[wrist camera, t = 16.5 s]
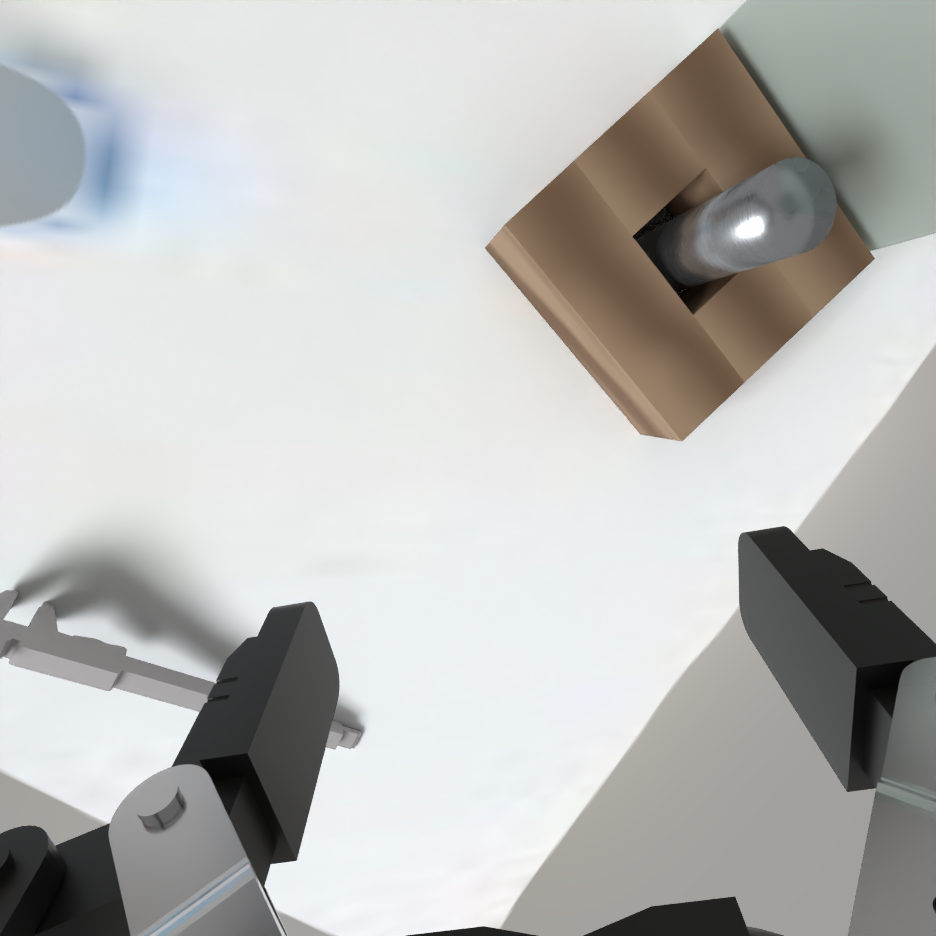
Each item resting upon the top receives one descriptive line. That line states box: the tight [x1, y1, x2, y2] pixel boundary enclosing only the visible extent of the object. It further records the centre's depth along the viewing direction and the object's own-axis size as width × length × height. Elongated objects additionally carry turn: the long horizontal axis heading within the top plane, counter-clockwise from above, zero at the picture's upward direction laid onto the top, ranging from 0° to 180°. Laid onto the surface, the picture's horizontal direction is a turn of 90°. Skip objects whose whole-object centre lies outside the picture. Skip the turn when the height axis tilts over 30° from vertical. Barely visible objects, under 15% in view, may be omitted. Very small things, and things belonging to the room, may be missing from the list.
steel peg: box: [636, 157, 836, 292], centre depth 30 cm, size 4×4×12 cm
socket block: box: [485, 29, 875, 441], centre depth 34 cm, size 14×14×5 cm
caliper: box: [0, 590, 362, 750], centre depth 32 cm, size 20×1×6 cm, turn 62°
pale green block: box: [719, 0, 936, 251], centre depth 24 cm, size 11×14×25 cm
